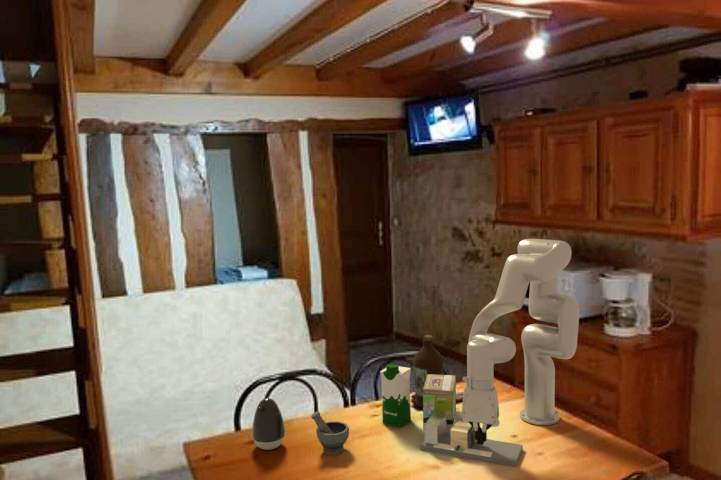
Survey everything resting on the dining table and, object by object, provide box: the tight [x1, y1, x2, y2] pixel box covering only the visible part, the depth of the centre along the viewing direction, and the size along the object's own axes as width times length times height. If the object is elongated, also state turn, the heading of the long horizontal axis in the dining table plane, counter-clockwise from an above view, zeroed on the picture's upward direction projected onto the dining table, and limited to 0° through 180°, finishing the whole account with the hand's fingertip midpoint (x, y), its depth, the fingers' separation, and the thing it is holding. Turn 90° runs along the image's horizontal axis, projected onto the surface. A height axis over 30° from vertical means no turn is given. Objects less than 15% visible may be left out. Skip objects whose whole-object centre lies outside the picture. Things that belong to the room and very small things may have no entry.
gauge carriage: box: [450, 420, 475, 451], centre depth 175 cm, size 10×6×5 cm, turn 155°
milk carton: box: [379, 363, 412, 429], centre depth 196 cm, size 9×9×20 cm
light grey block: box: [423, 414, 447, 446], centre depth 180 cm, size 9×4×6 cm, turn 155°
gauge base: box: [420, 433, 524, 468], centre depth 176 cm, size 11×28×2 cm, turn 65°
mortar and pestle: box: [310, 411, 350, 455], centre depth 178 cm, size 11×9×12 cm
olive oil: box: [412, 334, 444, 407], centre depth 210 cm, size 11×11×25 cm
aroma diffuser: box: [251, 397, 286, 451], centre depth 182 cm, size 10×10×15 cm
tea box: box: [422, 374, 457, 434], centre depth 193 cm, size 15×10×15 cm, turn 168°
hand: (481, 442), depth 174 cm, fingers closed
